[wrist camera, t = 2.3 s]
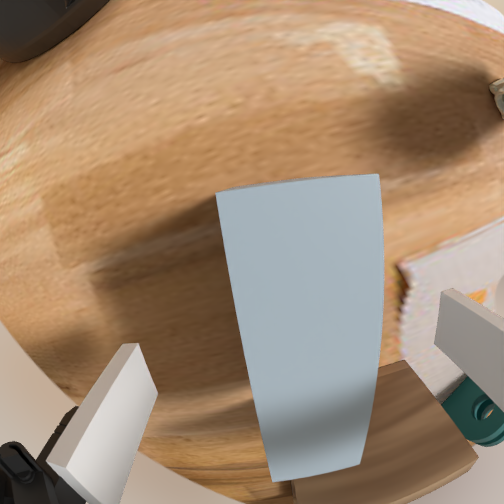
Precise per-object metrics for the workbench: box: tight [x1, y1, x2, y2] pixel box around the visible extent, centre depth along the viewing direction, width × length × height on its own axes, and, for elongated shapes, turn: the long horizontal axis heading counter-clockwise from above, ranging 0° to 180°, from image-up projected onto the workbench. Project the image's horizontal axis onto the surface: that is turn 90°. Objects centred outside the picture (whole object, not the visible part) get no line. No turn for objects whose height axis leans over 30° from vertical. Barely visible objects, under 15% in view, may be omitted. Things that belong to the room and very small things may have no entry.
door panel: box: [216, 174, 384, 482], centre depth 12 cm, size 12×4×9 cm, turn 8°
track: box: [291, 360, 479, 504], centre depth 15 cm, size 20×10×11 cm, turn 8°
